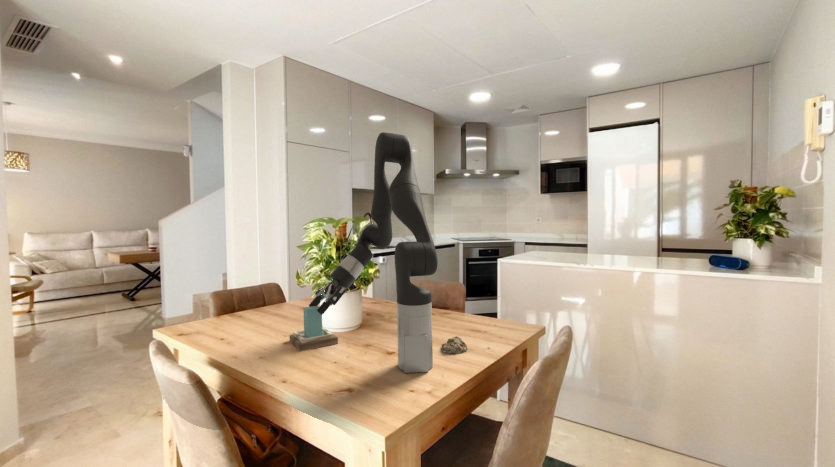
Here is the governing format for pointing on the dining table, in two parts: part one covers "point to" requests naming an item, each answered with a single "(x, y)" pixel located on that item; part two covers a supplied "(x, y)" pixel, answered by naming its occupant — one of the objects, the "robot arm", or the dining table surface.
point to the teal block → (312, 322)
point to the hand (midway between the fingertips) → (315, 310)
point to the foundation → (312, 340)
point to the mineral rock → (454, 346)
